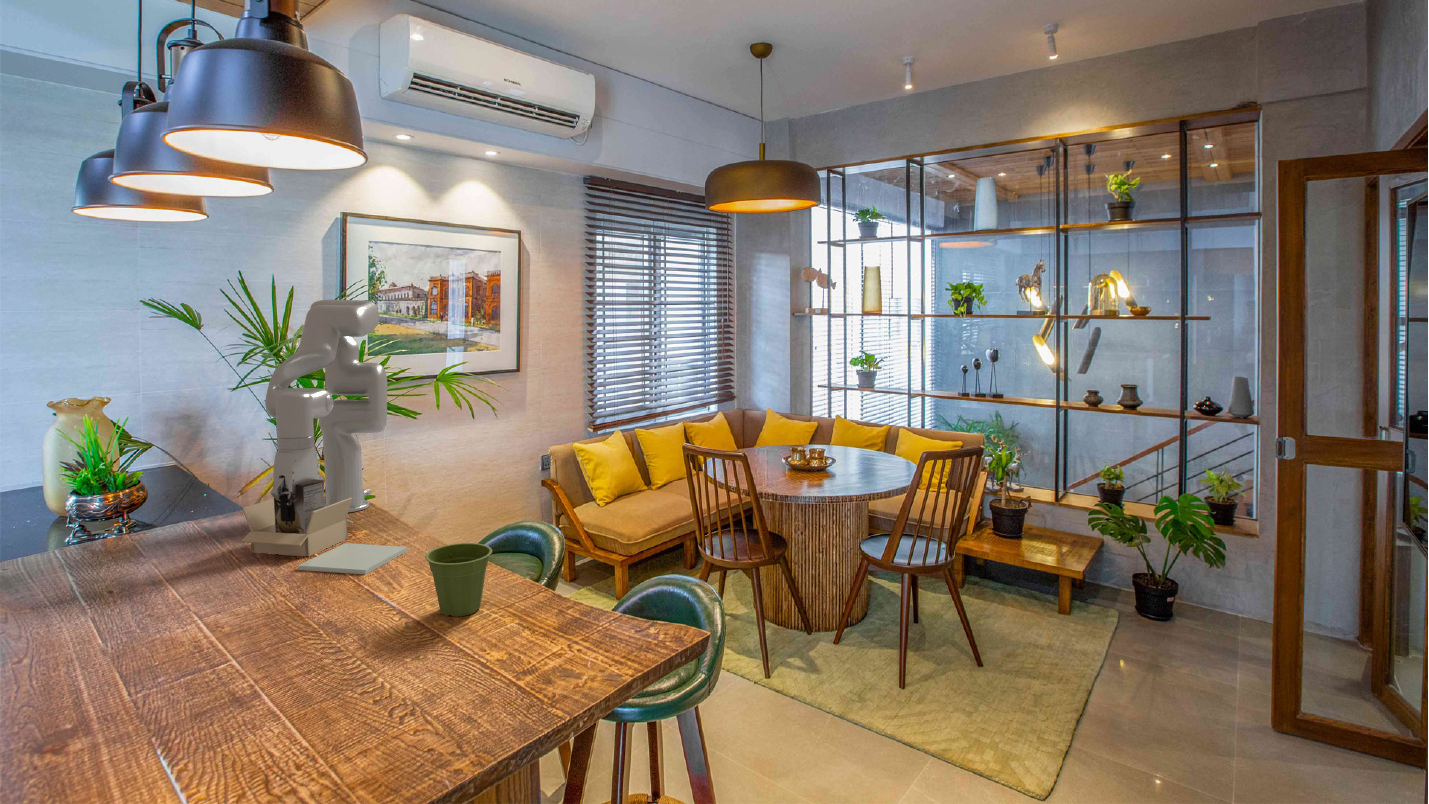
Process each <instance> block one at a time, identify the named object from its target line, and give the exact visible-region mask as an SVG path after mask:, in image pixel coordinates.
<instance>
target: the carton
mask: <svg viewBox="0 0 1429 804" xmlns="http://www.w3.org/2000/svg"><path fill="white" fill-rule="evenodd" d="M351 502H352V498H348V499H346V500H343V501H340V502H337V503H335V504H332V505H329V506H327V507H324V508H321V509H319V510H316V511H313V512H312V515H311V519H310V522H309V525H308V529H307V532H306V534H292V533H276V530H275V511H274V497H273V498H270V499H267V500H263V501H261V502H260V501H259V502H258V503H254V504H251V505H248V506H247V505H246V506H244V507H242V508H241V509H242V512H243V515H244V517H245V520H246V522H247V525H248V528H249V530H250V531H249V532H248V533H247V534H246V535H245V536H244V538H243V539H242V540H241V543H247V544H250V546H251V547H250V550H251V553H252V554H260V553H270V554H269V555H275V554H279V555H280V556H293V557H295V556H296V557H306V556H309V557H311V556H313V554H314V553H316V554H318V553H320V552H322V551H324V549H325V550H327V549H329V548H331V547H333V546H335V544H336V545H338V544H339V542H340V543H342V542H344V541H346V540H345V539H347V540H348V524H354V520H353V521H352V520H350V519H348V518H347V517H348V511H349V508H350V505H351ZM337 543H338V544H337ZM332 545H333V546H332ZM326 548H327V549H326ZM279 555H278V556H279ZM314 555H315V554H314Z"/></svg>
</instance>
